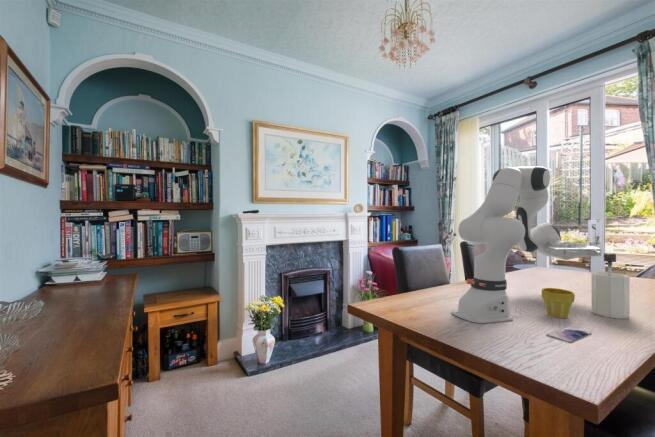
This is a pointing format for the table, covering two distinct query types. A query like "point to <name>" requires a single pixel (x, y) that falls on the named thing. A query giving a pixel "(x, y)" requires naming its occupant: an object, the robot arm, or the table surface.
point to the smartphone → (569, 334)
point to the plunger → (609, 261)
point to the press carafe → (610, 295)
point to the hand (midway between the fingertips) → (588, 253)
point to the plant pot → (557, 301)
